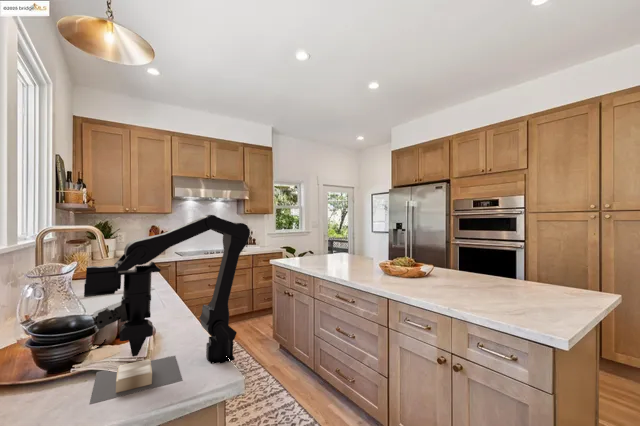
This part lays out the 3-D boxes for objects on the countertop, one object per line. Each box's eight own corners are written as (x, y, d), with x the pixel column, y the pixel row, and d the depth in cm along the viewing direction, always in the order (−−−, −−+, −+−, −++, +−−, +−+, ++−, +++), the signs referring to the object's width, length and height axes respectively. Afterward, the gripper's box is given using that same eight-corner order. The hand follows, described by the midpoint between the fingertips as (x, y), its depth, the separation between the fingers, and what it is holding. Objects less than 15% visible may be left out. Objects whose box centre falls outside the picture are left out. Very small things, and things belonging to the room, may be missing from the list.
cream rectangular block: (150, 358, 76) (152, 372, 69) (150, 369, 76) (151, 384, 69) (117, 365, 72) (116, 380, 65) (117, 377, 72) (115, 393, 65)
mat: (175, 357, 84) (175, 355, 84) (182, 382, 71) (182, 380, 71) (96, 374, 74) (96, 371, 74) (89, 407, 61) (89, 404, 61)
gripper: (99, 286, 75) (97, 348, 74) (91, 306, 59) (88, 383, 59) (150, 282, 81) (148, 339, 80) (154, 299, 65) (151, 369, 65)
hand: (135, 355), depth 71 cm, fingers closed
